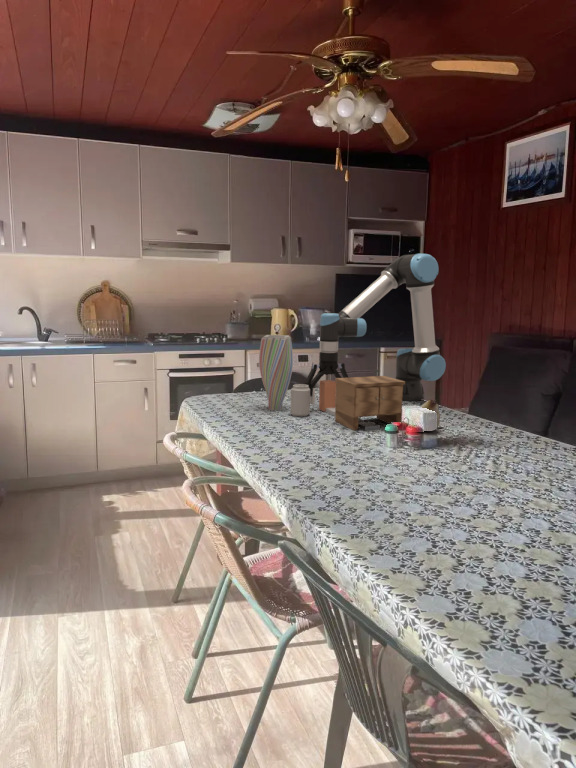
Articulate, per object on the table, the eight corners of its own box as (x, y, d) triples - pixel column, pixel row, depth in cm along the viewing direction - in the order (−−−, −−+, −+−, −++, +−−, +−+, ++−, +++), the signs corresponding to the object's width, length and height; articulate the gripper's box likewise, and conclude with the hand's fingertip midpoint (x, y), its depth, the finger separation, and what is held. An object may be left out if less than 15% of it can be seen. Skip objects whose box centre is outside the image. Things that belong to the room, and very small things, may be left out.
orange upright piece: (318, 409, 242) (319, 380, 240) (329, 408, 244) (330, 379, 242) (352, 424, 216) (353, 392, 214) (364, 423, 218) (365, 391, 216)
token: (371, 427, 214) (371, 421, 214) (379, 430, 209) (380, 425, 208) (356, 428, 212) (357, 422, 212) (364, 432, 206) (365, 426, 206)
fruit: (437, 435, 201) (439, 401, 200) (410, 433, 204) (412, 399, 202) (440, 429, 211) (442, 396, 209) (413, 426, 214) (415, 394, 212)
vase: (289, 413, 233) (290, 337, 229) (255, 411, 236) (256, 336, 231) (294, 406, 247) (295, 335, 242) (262, 404, 249) (263, 334, 244)
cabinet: (382, 417, 228) (383, 375, 225) (404, 426, 214) (406, 382, 211) (333, 421, 220) (335, 378, 217) (353, 431, 206) (355, 384, 203)
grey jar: (309, 417, 226) (310, 386, 224) (290, 416, 227) (291, 386, 225) (309, 413, 234) (310, 383, 232) (290, 412, 234) (291, 383, 232)
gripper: (351, 350, 245) (349, 399, 248) (296, 351, 235) (295, 403, 239) (360, 351, 238) (358, 403, 242) (304, 353, 229) (303, 406, 232)
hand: (327, 403), depth 240 cm, fingers open, 13 cm apart
